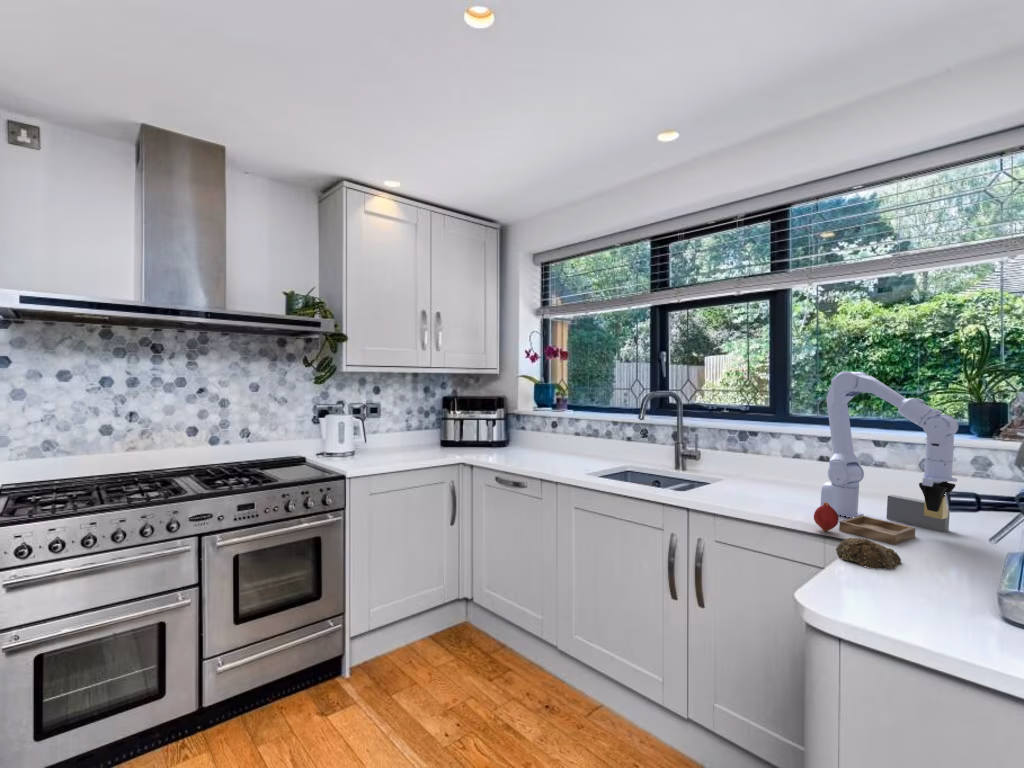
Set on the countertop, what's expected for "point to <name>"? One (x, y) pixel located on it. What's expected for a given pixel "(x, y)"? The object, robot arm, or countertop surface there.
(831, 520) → the onion
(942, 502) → the brass block
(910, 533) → the tray
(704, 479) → the countertop surface
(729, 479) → the countertop surface
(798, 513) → the countertop surface
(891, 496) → the wall unit
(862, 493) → the countertop surface
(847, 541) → the bread roll
